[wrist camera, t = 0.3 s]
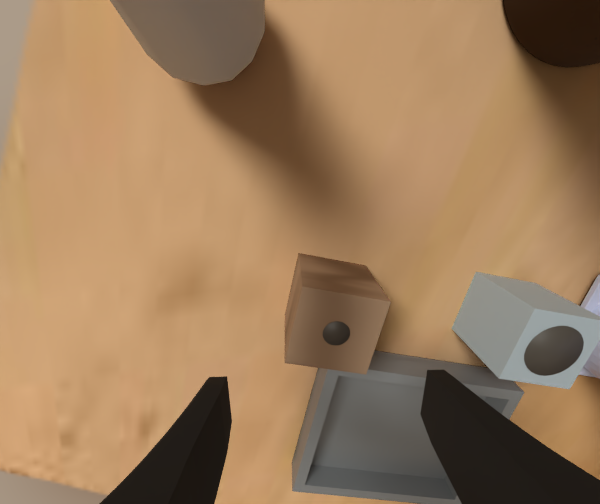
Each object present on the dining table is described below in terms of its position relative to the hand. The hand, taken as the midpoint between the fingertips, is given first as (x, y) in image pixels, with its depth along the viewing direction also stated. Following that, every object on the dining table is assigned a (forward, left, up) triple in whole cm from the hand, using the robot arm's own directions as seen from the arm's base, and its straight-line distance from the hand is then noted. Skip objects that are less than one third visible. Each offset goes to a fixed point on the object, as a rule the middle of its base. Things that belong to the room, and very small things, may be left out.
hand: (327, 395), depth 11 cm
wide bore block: (-13, -1, -10) cm, 16 cm away
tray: (-9, +10, -9) cm, 17 cm away
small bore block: (-1, 0, -10) cm, 10 cm away
